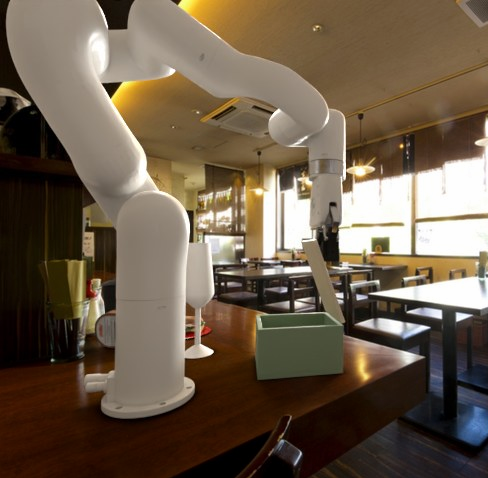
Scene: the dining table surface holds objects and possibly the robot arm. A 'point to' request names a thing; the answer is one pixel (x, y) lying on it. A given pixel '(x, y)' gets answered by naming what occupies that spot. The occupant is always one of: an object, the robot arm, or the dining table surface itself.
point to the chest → (298, 345)
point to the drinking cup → (109, 295)
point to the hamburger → (191, 327)
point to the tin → (106, 329)
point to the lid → (322, 278)
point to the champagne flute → (199, 290)
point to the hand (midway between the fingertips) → (326, 259)
